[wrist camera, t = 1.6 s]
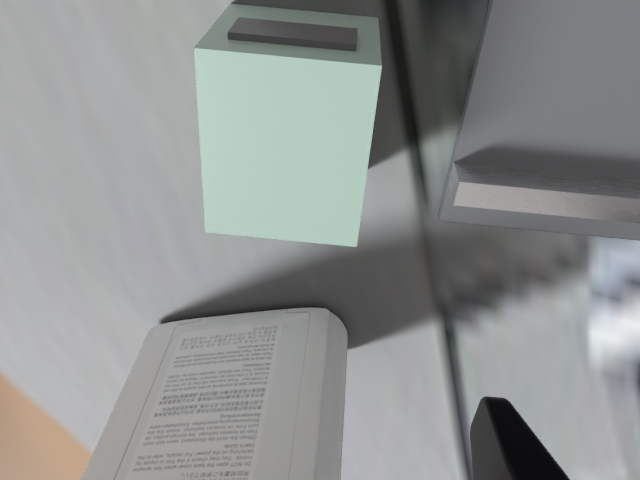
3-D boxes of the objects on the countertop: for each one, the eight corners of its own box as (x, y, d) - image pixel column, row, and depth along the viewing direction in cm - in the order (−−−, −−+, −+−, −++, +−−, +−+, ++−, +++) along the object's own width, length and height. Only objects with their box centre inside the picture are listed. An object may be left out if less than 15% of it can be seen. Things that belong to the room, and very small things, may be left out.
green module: (379, 10, 18) (383, 58, 14) (358, 172, 22) (356, 247, 18) (230, -4, 19) (193, 40, 14) (234, 160, 22) (205, 232, 18)
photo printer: (169, 375, 30) (72, 641, 20) (137, 318, 28) (9, 588, 18) (355, 356, 28) (350, 638, 18) (338, 294, 26) (322, 579, 16)
